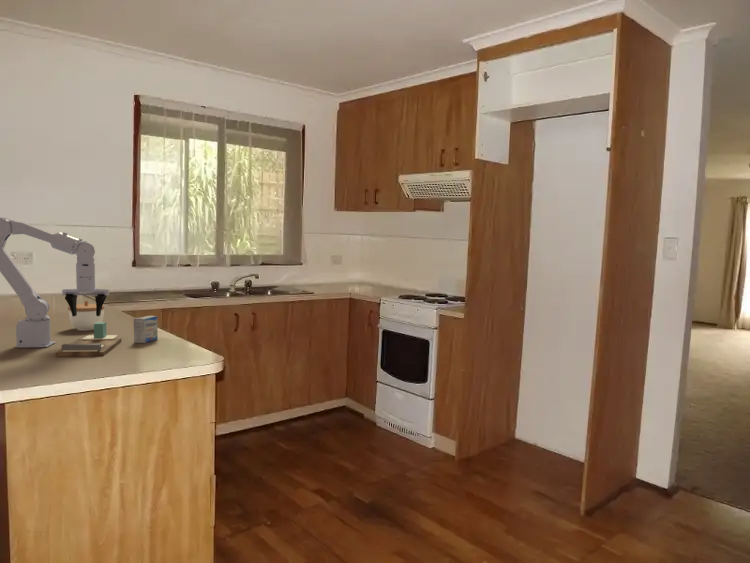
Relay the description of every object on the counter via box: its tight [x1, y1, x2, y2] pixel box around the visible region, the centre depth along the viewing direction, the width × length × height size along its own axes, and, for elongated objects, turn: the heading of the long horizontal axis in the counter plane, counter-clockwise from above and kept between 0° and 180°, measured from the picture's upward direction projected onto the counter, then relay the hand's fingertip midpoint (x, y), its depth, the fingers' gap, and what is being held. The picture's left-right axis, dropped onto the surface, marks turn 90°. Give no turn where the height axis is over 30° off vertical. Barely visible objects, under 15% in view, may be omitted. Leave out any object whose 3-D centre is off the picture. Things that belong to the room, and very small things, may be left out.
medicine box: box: [133, 315, 159, 344], centre depth 201 cm, size 8×4×9 cm, turn 168°
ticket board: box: [54, 337, 122, 357], centre depth 187 cm, size 14×22×1 cm, turn 11°
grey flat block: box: [61, 343, 105, 352], centre depth 181 cm, size 11×9×2 cm
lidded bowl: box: [67, 300, 105, 331], centre depth 220 cm, size 13×13×11 cm
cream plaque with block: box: [81, 321, 119, 340], centre depth 197 cm, size 10×6×5 cm, turn 101°
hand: (86, 315), depth 195 cm, fingers open, 7 cm apart
